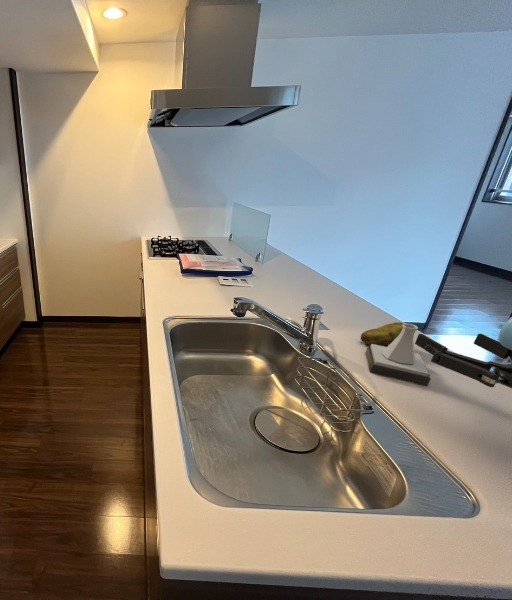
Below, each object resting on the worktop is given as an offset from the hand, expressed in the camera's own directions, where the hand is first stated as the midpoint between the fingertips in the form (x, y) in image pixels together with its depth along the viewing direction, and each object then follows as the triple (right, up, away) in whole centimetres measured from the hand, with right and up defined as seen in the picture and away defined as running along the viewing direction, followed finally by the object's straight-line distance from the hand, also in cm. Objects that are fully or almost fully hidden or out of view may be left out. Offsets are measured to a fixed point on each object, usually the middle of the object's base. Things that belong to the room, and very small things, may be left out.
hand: (447, 338), depth 76 cm
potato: (+7, -5, +26) cm, 28 cm away
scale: (0, -10, +15) cm, 18 cm away
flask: (0, -7, +14) cm, 15 cm away
